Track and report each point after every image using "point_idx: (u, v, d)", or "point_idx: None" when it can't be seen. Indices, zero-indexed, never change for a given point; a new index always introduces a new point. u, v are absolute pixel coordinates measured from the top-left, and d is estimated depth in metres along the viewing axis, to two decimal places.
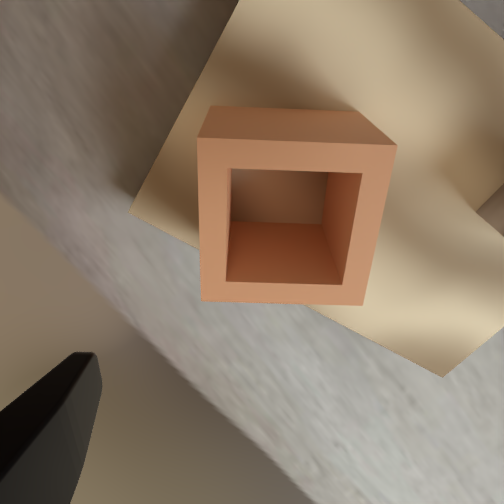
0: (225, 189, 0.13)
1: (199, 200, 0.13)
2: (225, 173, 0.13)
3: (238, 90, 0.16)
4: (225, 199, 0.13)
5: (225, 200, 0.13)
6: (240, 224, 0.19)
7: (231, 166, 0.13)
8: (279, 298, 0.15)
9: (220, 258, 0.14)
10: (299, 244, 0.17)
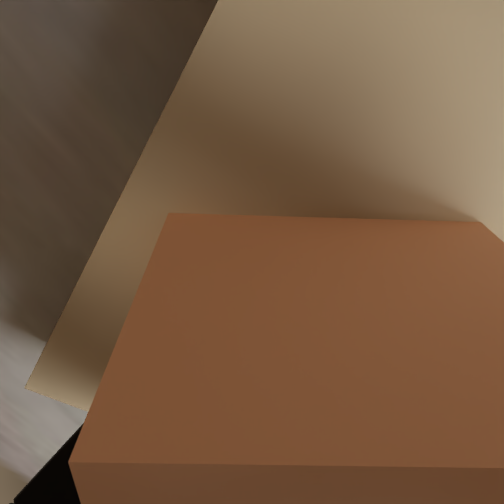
0: None
1: None
2: None
3: (226, 184, 0.07)
4: None
5: None
6: None
7: None
8: None
9: None
10: None
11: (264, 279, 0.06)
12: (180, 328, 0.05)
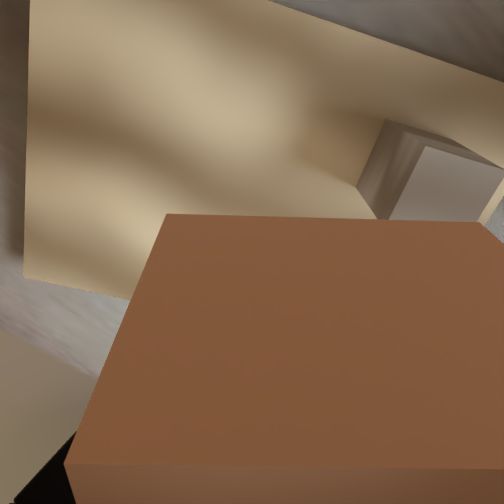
0: None
1: None
2: None
3: (67, 140, 0.16)
4: None
5: None
6: None
7: None
8: None
9: None
10: None
11: (262, 280, 0.06)
12: (177, 329, 0.05)
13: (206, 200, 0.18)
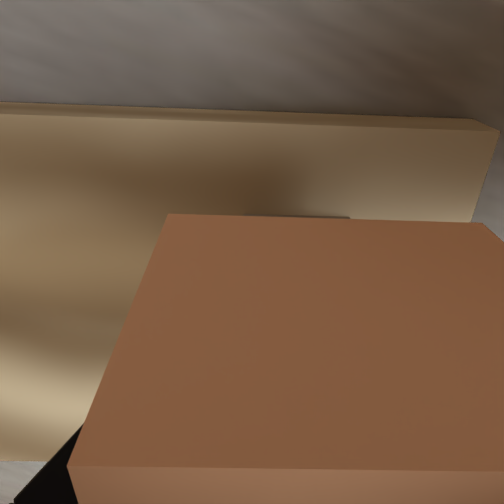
0: None
1: None
2: None
3: None
4: None
5: None
6: None
7: None
8: None
9: None
10: None
11: (264, 280, 0.06)
12: (180, 330, 0.05)
13: (62, 351, 0.14)
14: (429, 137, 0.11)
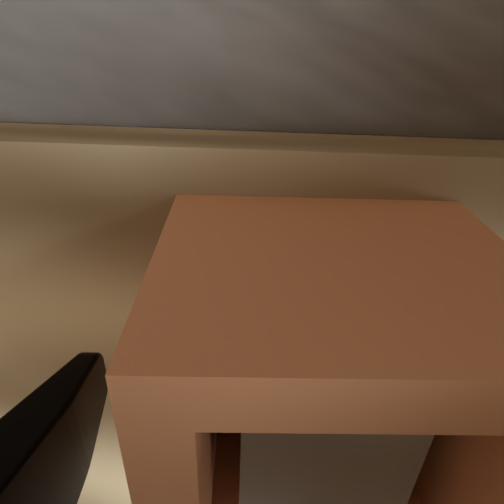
0: (194, 467, 0.05)
1: (130, 488, 0.05)
2: (191, 442, 0.05)
3: None
4: (195, 485, 0.05)
5: (195, 485, 0.05)
6: None
7: (207, 429, 0.05)
8: None
9: None
10: None
11: (262, 247, 0.07)
12: (191, 283, 0.06)
13: None
14: (478, 167, 0.08)
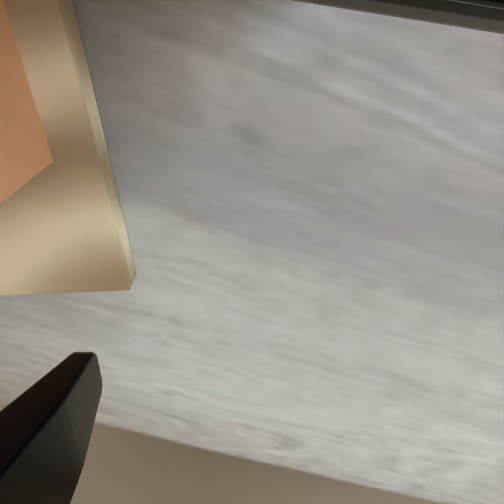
0: None
1: None
2: None
3: None
4: None
5: None
6: None
7: None
8: None
9: None
10: None
11: None
12: None
13: None
14: None
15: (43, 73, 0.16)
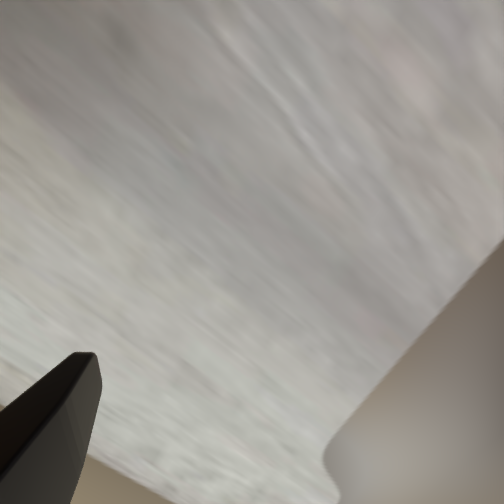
0: None
1: None
2: None
3: None
4: None
5: None
6: None
7: None
8: None
9: None
10: None
11: None
12: None
13: None
14: None
15: None
